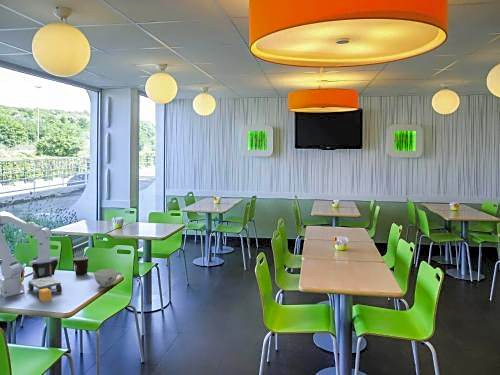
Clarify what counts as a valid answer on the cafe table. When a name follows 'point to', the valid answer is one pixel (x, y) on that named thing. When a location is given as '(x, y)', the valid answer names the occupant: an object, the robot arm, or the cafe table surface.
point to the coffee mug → (81, 265)
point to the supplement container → (43, 269)
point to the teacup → (106, 277)
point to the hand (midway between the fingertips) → (45, 276)
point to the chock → (45, 295)
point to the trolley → (45, 284)
